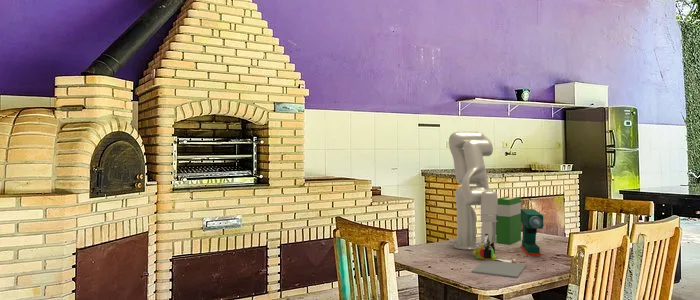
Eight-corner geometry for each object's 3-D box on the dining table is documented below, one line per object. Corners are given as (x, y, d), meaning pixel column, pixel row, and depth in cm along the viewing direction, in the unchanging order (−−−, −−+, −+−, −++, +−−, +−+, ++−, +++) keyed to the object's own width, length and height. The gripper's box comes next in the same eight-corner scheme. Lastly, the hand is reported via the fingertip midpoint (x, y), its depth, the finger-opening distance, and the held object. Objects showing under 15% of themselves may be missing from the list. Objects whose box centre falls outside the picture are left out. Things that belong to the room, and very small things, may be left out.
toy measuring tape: (476, 255, 224) (475, 242, 224) (517, 261, 212) (517, 247, 212) (470, 258, 219) (470, 244, 219) (512, 264, 207) (512, 249, 207)
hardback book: (507, 238, 267) (507, 196, 267) (521, 240, 263) (520, 197, 263) (496, 243, 253) (496, 198, 253) (509, 245, 249) (509, 199, 249)
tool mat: (471, 272, 194) (471, 270, 194) (484, 261, 213) (484, 259, 213) (517, 278, 185) (517, 276, 185) (526, 265, 204) (526, 264, 204)
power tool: (548, 262, 210) (548, 217, 210) (531, 262, 211) (531, 217, 211) (535, 248, 241) (534, 209, 241) (520, 247, 243) (520, 208, 243)
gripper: (485, 215, 226) (485, 252, 226) (476, 219, 211) (476, 259, 211) (501, 216, 223) (501, 254, 222) (493, 221, 207) (493, 261, 207)
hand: (489, 256), depth 217 cm, fingers closed on toy measuring tape, 6 cm apart
